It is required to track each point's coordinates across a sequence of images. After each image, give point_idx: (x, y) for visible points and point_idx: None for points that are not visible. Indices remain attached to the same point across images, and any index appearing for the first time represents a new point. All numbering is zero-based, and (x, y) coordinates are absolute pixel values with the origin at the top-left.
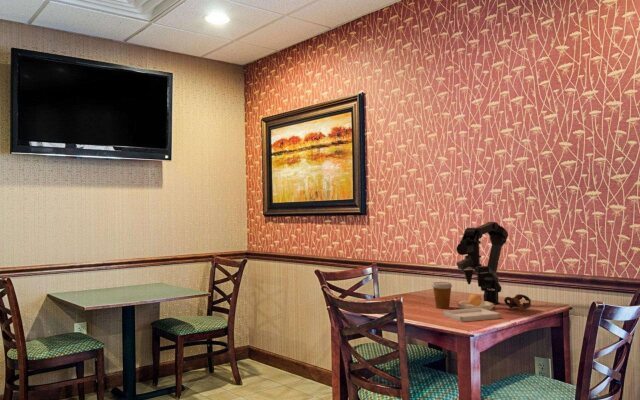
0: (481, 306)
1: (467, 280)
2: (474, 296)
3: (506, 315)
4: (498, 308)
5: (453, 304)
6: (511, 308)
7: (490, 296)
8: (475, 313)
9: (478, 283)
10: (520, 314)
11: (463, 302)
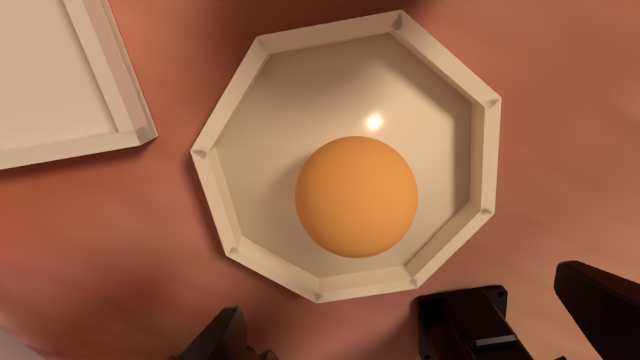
0: (199, 174)
1: (636, 300)
2: (319, 192)
3: (34, 250)
4: (286, 296)
5: (558, 53)
6: (267, 352)
7: (453, 353)
8: (24, 40)
9: (192, 349)
10: (76, 328)
11: (477, 122)
